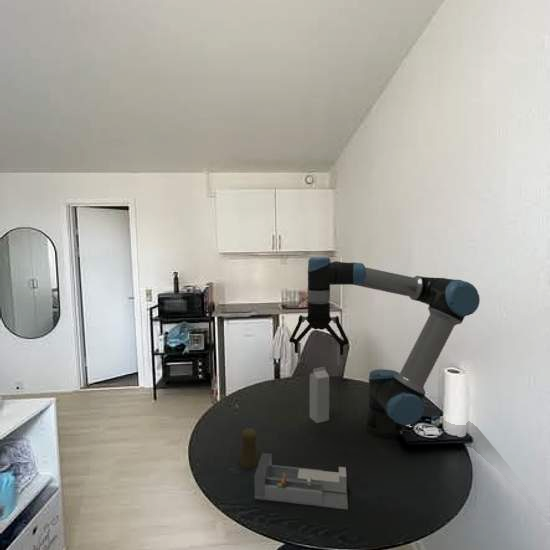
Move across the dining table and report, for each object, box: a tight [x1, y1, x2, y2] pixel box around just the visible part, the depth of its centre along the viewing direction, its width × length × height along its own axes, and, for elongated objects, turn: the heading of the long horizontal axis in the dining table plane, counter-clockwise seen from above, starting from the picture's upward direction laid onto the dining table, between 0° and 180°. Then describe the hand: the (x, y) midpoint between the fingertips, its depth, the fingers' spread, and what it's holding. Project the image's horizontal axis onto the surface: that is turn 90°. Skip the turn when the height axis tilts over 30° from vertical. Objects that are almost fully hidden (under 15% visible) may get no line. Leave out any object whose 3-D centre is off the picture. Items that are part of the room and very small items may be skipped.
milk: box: [309, 366, 330, 424], centre depth 144 cm, size 6×6×22 cm
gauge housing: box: [254, 452, 349, 510], centre depth 101 cm, size 26×11×7 cm, turn 80°
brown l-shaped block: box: [277, 473, 286, 486], centre depth 97 cm, size 2×4×5 cm, turn 171°
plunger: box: [297, 466, 347, 493], centre depth 100 cm, size 14×7×5 cm, turn 80°
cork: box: [239, 428, 259, 469], centre depth 114 cm, size 6×6×11 cm
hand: (318, 363), depth 119 cm, fingers open, 13 cm apart
